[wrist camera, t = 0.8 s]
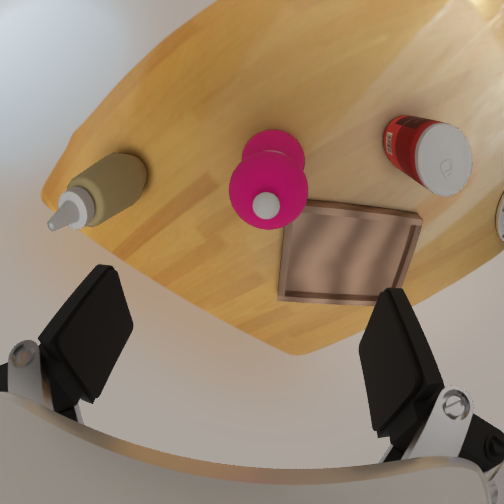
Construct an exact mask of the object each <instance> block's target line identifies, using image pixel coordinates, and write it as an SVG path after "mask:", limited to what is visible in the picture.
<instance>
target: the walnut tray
mask: <svg viewBox="0 0 504 504" xmlns="http://www.w3.org/2000/svg"><path fill="white" fill-rule="evenodd" d="M422 223H423V219H422V218H421V217H420V216H419V215H418V214H417V213H414V212H407V211H400V210H393V209H386V208H379V207H371V206H363V205H355V204H346V203H337V202H327V201H317V200H307V202H306V205H305V207H304V209H303V211H302V212H301V214H300V215H299V216H298V217H297V219H295V220H294V221H293V222H291V223H290V224H288V225H286V226H284V234H283V245H282V256H281V266H280V276H279V285H278V300H277V301H287V302H302V303H318V304H337V305H361V306H375V304H376V302H377V299H378V296H379V294H380V292H384V290H385V289H386V288H401V287H402V284H403V281H404V279H405V276H406V273H407V270H408V268H409V265H410V262H411V259H412V256H413V253H414V250H415V247H416V244H417V240H418V237H419V234H420V230H421V227H422Z"/></svg>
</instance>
